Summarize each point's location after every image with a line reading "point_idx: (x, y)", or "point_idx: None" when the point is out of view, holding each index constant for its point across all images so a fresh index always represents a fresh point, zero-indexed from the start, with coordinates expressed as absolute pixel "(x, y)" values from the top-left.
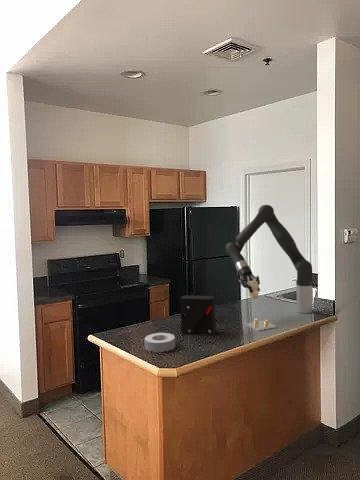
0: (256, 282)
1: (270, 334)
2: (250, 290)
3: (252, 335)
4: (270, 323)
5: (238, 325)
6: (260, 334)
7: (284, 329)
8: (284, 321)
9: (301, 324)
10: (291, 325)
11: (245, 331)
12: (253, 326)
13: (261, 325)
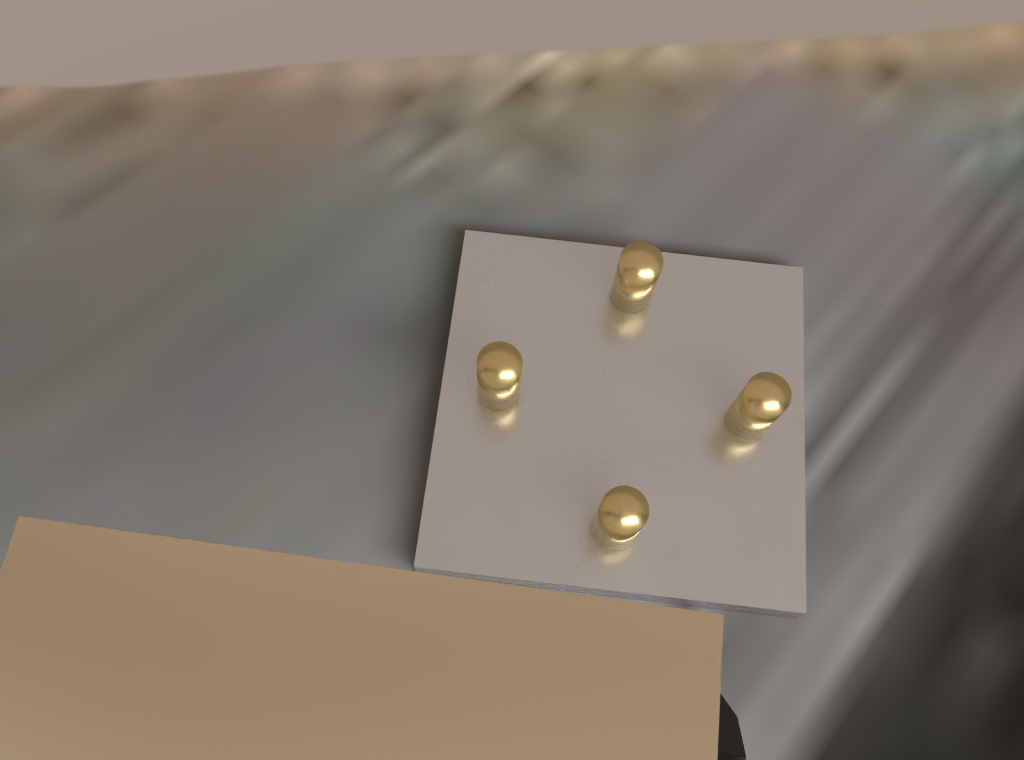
0: (237, 557)
1: (754, 96)
2: (738, 723)
3: (986, 201)
4: (447, 363)
5: (910, 730)
6: (867, 168)
7: (452, 122)
8: (109, 379)
9: (81, 127)
10: (224, 179)
11: (981, 387)
12: (787, 417)
13: (643, 375)
